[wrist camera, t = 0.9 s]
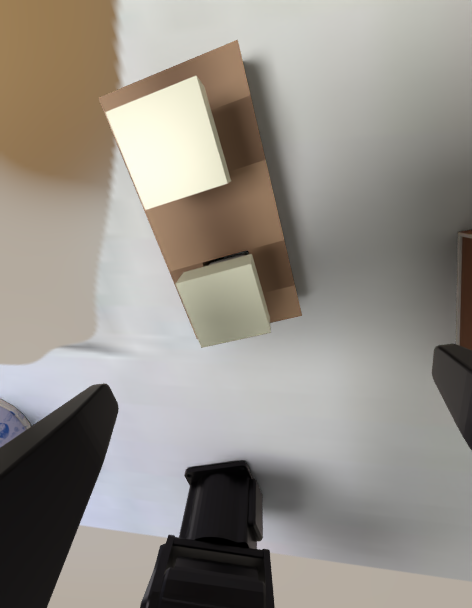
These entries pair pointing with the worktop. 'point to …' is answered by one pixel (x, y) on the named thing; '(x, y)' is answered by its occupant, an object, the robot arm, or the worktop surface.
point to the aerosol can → (11, 422)
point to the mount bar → (226, 198)
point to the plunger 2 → (225, 301)
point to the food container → (464, 290)
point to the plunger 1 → (170, 143)
